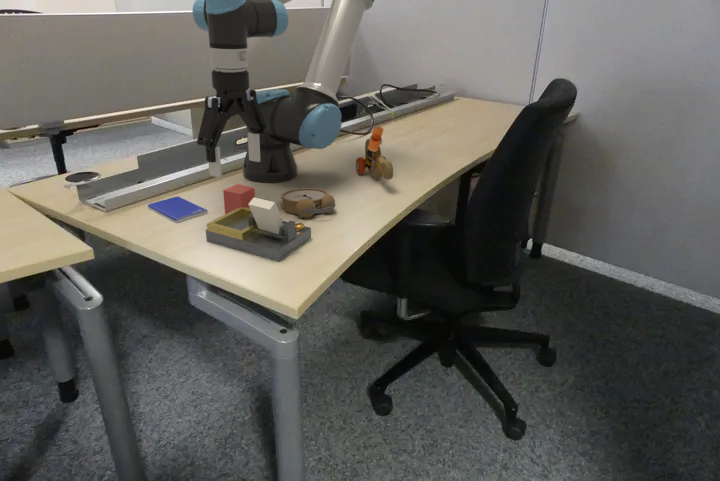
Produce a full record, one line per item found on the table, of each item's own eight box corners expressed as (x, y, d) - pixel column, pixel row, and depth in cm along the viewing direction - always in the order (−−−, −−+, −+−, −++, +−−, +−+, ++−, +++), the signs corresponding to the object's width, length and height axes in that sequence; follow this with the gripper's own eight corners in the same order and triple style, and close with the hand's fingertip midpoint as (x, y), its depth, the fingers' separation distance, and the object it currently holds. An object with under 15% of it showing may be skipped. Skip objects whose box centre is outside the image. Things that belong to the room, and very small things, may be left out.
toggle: (263, 225, 107) (251, 196, 102) (287, 231, 105) (277, 202, 99) (258, 231, 106) (246, 203, 100) (282, 238, 104) (271, 209, 98)
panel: (243, 220, 117) (241, 195, 115) (311, 238, 110) (310, 212, 108) (206, 240, 108) (203, 213, 105) (278, 261, 101) (277, 233, 98)
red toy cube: (238, 207, 125) (237, 183, 122) (255, 211, 123) (254, 187, 120) (225, 214, 121) (223, 190, 118) (242, 218, 119) (240, 194, 116)
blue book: (207, 209, 120) (178, 195, 127) (175, 219, 115) (147, 204, 122) (208, 215, 121) (179, 201, 128) (176, 225, 115) (148, 210, 123)
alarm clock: (312, 185, 132) (344, 193, 120) (314, 204, 134) (346, 213, 122) (272, 193, 126) (302, 202, 114) (275, 212, 128) (304, 223, 116)
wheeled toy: (380, 168, 155) (383, 122, 149) (404, 193, 137) (408, 142, 131) (354, 170, 153) (355, 123, 147) (374, 195, 135) (377, 143, 129)
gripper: (201, 77, 96) (211, 186, 105) (279, 65, 116) (281, 157, 125) (171, 73, 99) (183, 179, 108) (252, 62, 119) (256, 152, 128)
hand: (236, 168), depth 117 cm, fingers open, 13 cm apart
